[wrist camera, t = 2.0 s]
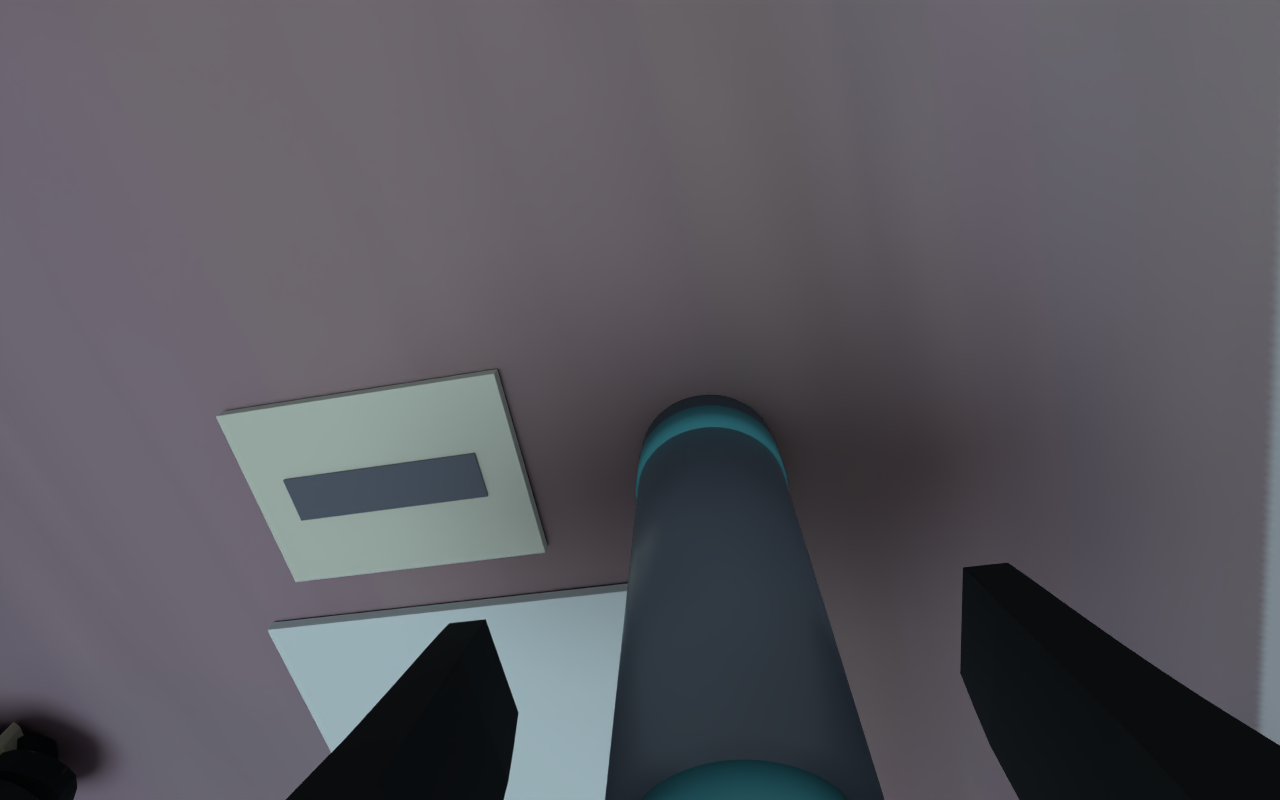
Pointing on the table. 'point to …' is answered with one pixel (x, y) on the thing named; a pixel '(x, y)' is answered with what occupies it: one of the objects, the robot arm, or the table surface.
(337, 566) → the plate
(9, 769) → the toy
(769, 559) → the marker
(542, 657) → the paper
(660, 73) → the table surface
